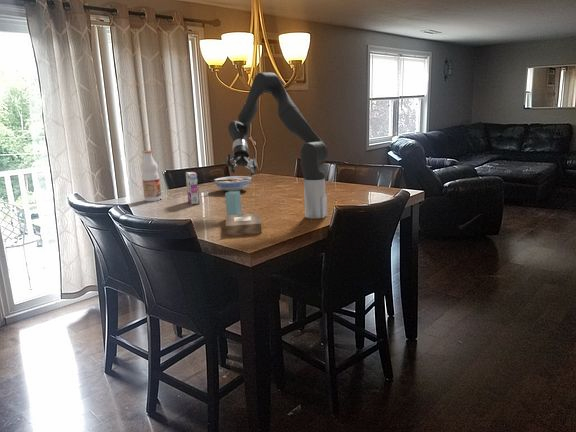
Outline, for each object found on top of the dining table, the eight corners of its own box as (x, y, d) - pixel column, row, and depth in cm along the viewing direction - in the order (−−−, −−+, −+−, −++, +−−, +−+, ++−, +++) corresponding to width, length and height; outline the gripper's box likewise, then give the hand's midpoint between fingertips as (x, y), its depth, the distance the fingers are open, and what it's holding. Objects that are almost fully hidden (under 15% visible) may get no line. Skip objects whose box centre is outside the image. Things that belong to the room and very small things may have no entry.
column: (241, 216, 206) (240, 191, 203) (236, 219, 202) (234, 193, 199) (232, 216, 208) (230, 191, 205) (227, 218, 204) (225, 193, 201)
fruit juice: (142, 200, 256) (136, 151, 250) (158, 197, 261) (153, 149, 255) (147, 202, 249) (141, 152, 242) (164, 200, 254) (158, 150, 247)
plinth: (258, 221, 195) (257, 212, 194) (261, 233, 178) (261, 222, 177) (226, 224, 194) (225, 215, 193) (226, 235, 176) (225, 225, 175)
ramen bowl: (255, 186, 282) (255, 174, 280) (251, 193, 260) (250, 180, 258) (216, 188, 283) (215, 175, 281) (209, 195, 261) (208, 181, 259)
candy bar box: (200, 204, 238) (197, 173, 234) (191, 205, 236) (188, 174, 232) (196, 200, 248) (194, 171, 244) (187, 201, 246) (184, 172, 243)
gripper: (227, 142, 212) (229, 165, 201) (256, 146, 216) (259, 169, 206) (224, 153, 217) (225, 176, 207) (252, 158, 222) (255, 180, 211)
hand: (242, 173), depth 206 cm, fingers open, 8 cm apart
